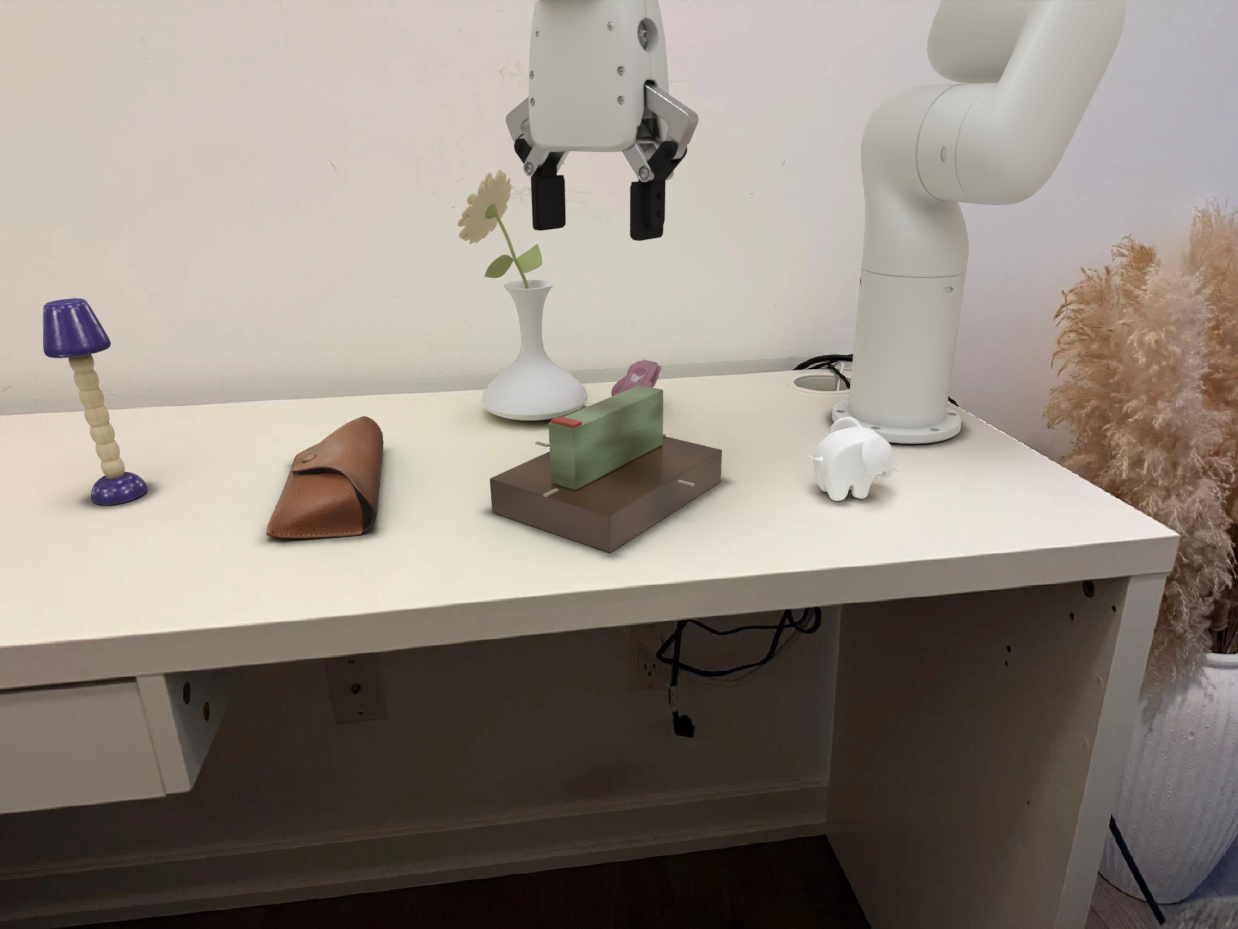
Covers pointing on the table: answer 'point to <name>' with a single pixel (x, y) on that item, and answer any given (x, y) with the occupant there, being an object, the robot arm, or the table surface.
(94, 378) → the toy lamp
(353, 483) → the sunglasses case
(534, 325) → the flower in vase
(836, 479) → the elephant figurine
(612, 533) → the base
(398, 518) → the table surface
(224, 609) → the table surface
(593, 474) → the green rectangular block
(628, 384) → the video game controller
